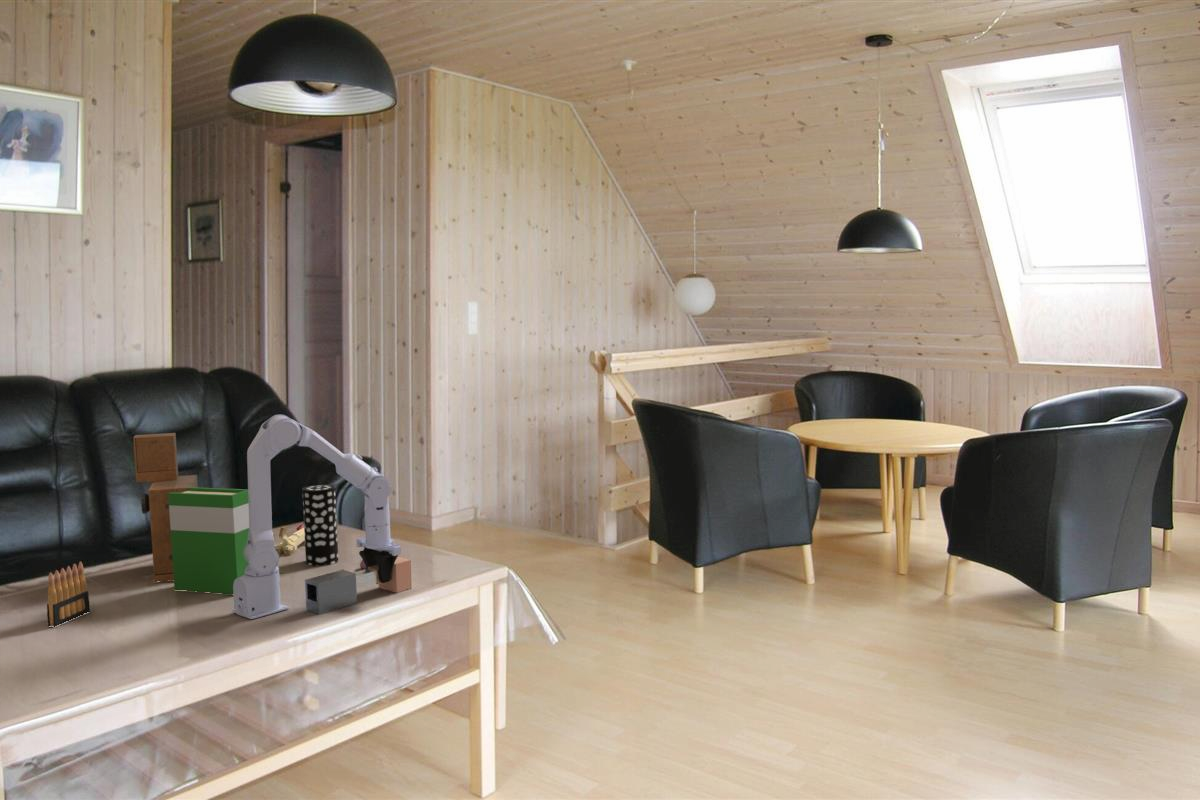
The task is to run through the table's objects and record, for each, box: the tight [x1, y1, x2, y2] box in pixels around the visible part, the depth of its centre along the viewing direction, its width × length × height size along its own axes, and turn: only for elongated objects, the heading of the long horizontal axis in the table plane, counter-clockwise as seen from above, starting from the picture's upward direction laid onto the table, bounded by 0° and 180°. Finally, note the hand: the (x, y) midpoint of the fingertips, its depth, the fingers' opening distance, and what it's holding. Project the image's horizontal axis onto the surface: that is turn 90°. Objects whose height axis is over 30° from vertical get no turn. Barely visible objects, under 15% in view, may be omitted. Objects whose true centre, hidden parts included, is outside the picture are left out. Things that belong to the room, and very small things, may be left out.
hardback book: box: [168, 487, 249, 595], centre depth 236 cm, size 18×7×24 cm, turn 75°
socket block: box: [378, 556, 412, 594], centre depth 235 cm, size 4×7×7 cm, turn 50°
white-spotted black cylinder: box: [301, 484, 339, 567], centre depth 259 cm, size 8×8×20 cm
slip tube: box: [353, 564, 392, 590], centre depth 229 cm, size 17×4×4 cm, turn 140°
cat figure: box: [274, 522, 305, 556], centre depth 280 cm, size 10×9×25 cm
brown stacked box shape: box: [133, 432, 199, 583], centre depth 252 cm, size 19×14×35 cm
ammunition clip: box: [46, 561, 91, 627], centre depth 215 cm, size 11×2×12 cm, turn 168°
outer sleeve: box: [304, 569, 358, 615], centre depth 221 cm, size 10×5×7 cm, turn 140°
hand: (379, 580), depth 232 cm, fingers closed on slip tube, 4 cm apart
